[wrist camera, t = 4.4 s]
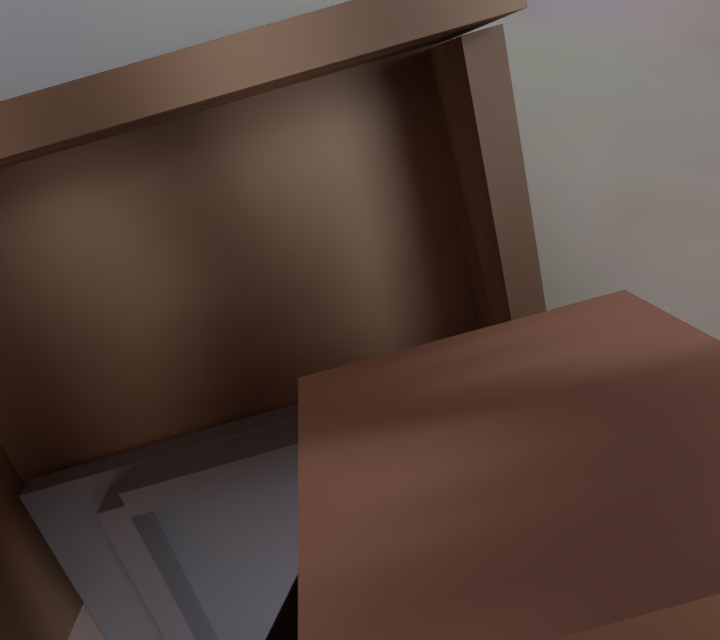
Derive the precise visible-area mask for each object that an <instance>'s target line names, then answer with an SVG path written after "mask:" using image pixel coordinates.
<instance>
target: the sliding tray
mask: <svg viewBox="0 0 720 640" xmlns="http://www.w3.org/2000/svg"><path fill="white" fill-rule="evenodd" d="M19 497H20V499H21V501H22V502H23V504H24V506H25V507H26V509H27V511H28V512H29V514H30V515H31V517H32V519H33V520H34V522H35V524H36V525H37V527H38V529H39V530H40V532H41V534H42V535H43V537H44V538H45V540H46V542H47V543H48V545H49V547H50V548H51V550H52V552H53V553H54V555H55V556H56V558H57V560H58V561H59V563H60V565H61V566H62V568H63V570H64V571H65V573H66V574H67V576H68V578H69V579H70V581H71V583H72V584H73V586H74V588H75V589H76V591H77V593H78V594H79V596H80V597H81V599H82V601H83V602H84V604H85V606H86V607H87V609H88V611H89V612H90V614H91V615H92V617H93V619H94V620H95V622H96V624H97V625H98V627H99V629H100V630H101V632H102V634H103V635H104V637H105V638H106V640H265V639H266V637H267V635H268V633H269V631H270V629H271V627H272V625H273V623H274V621H275V619H276V617H277V615H278V613H279V611H280V609H281V607H282V604H283V602H284V600H285V598H286V596H287V594H288V592H289V590H290V588H291V586H292V584H293V582H294V580H295V578H296V576H297V574H298V403H297V404H293V405H290V406H286V407H283V408H279V409H275V410H272V411H268V412H265V413H261V414H258V415H254V416H251V417H247V418H244V419H240V420H237V421H233V422H230V423H226V424H223V425H219V426H215V427H212V428H208V429H205V430H201V431H198V432H194V433H191V434H187V435H184V436H180V437H177V438H173V439H170V440H166V441H163V442H159V443H155V444H152V445H148V446H145V447H141V448H138V449H134V450H131V451H127V452H124V453H120V454H117V455H113V456H110V457H106V458H103V459H99V460H96V461H92V462H88V463H85V464H81V465H78V466H74V467H71V468H67V469H64V470H60V471H57V472H53V473H50V474H46V475H43V476H39V477H36V478H32V479H31V480H30V481H29V482H28V484H27V485H26V486H25V488H24V489H23V491H22V492H21V493H20V495H19Z"/></svg>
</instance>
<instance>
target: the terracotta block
mask: <svg viewBox="0 0 720 640" xmlns="http://www.w3.org/2000/svg"><path fill="white" fill-rule="evenodd" d="M298 640H720V341H719V340H717V339H715V338H713V337H711V336H709V335H708V334H706V333H704V332H702V331H700V330H698V329H696V328H695V327H693V326H691V325H689V324H687V323H685V322H683V321H682V320H680V319H678V318H676V317H674V316H672V315H670V314H669V313H667V312H665V311H663V310H661V309H659V308H658V307H656V306H654V305H652V304H650V303H648V302H646V301H645V300H643V299H641V298H639V297H637V296H635V295H633V294H632V293H630V292H628V291H626V290H623V291H619V292H616V293H612V294H608V295H604V296H601V297H597V298H593V299H590V300H586V301H582V302H578V303H575V304H571V305H567V306H564V307H560V308H556V309H552V310H549V311H545V312H541V313H537V314H534V315H530V316H526V317H523V318H519V319H515V320H511V321H508V322H504V323H500V324H497V325H493V326H489V327H485V328H482V329H478V330H474V331H471V332H467V333H463V334H459V335H456V336H452V337H448V338H445V339H441V340H437V341H433V342H430V343H426V344H422V345H418V346H415V347H411V348H407V349H404V350H400V351H396V352H392V353H389V354H385V355H381V356H378V357H374V358H370V359H366V360H363V361H359V362H355V363H352V364H348V365H344V366H340V367H337V368H333V369H329V370H326V371H322V372H318V373H314V374H311V375H307V376H303V377H299V378H298Z"/></svg>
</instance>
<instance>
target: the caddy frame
mask: <svg viewBox="0 0 720 640" xmlns="http://www.w3.org/2000/svg"><path fill="white" fill-rule="evenodd" d="M524 8H527V0H351V1H348V2H344V3H341V4H337V5H334V6H331V7H327V8H324V9H320V10H317V11H313V12H310V13H306V14H303V15H299V16H296V17H292V18H289V19H285V20H282V21H278V22H275V23H272V24H268V25H265V26H261V27H258V28H254V29H251V30H247V31H244V32H240V33H237V34H233V35H230V36H226V37H223V38H219V39H216V40H212V41H209V42H206V43H202V44H199V45H195V46H192V47H188V48H185V49H181V50H178V51H174V52H171V53H167V54H164V55H160V56H157V57H153V58H150V59H147V60H143V61H140V62H136V63H133V64H129V65H126V66H122V67H119V68H115V69H112V70H108V71H105V72H101V73H98V74H94V75H91V76H87V77H84V78H81V79H77V80H74V81H70V82H67V83H63V84H60V85H56V86H53V87H49V88H46V89H42V90H39V91H35V92H32V93H28V94H25V95H22V96H18V97H15V98H11V99H8V100H4V101H1V102H0V640H67V639H68V637H69V634H70V632H71V630H72V627H73V625H74V623H75V621H76V618H77V616H78V614H79V611H80V609H81V607H82V605H83V601H82V599H81V597H80V596H79V594H78V593H77V591H76V589H75V588H74V586H73V584H72V583H71V581H70V579H69V578H68V576H67V574H66V573H65V571H64V570H63V568H62V566H61V565H60V563H59V561H58V560H57V558H56V556H55V555H54V553H53V552H52V550H51V548H50V547H49V545H48V543H47V542H46V540H45V538H44V537H43V535H42V534H41V532H40V530H39V529H38V527H37V525H36V524H35V522H34V520H33V519H32V517H31V515H30V514H29V512H28V511H27V509H26V507H25V506H24V504H23V502H22V501H21V499H20V497H19V495H20V493H21V492H22V491H23V489H24V488H25V486H26V485H27V484H28V482H29V481H30V480H31V479H32V478H36V477H39V476H43V475H46V474H50V473H53V472H57V471H60V470H64V469H67V468H71V467H74V466H78V465H81V464H85V463H88V462H92V461H96V460H99V459H103V458H106V457H110V456H113V455H117V454H120V453H124V452H127V451H131V450H134V449H138V448H141V447H145V446H148V445H152V444H155V443H159V442H163V441H166V440H170V439H173V438H177V437H180V436H184V435H187V434H191V433H194V432H198V431H201V430H205V429H208V428H212V427H215V426H219V425H223V424H226V423H230V422H233V421H237V420H240V419H244V418H247V417H251V416H254V415H258V414H261V413H265V412H268V411H272V410H275V409H279V408H283V407H286V406H290V405H293V404H297V403H298V378H299V377H303V376H307V375H311V374H314V373H318V372H322V371H326V370H329V369H333V368H337V367H340V366H344V365H348V364H352V363H355V362H359V361H363V360H366V359H370V358H374V357H378V356H381V355H385V354H389V353H392V352H396V351H400V350H404V349H407V348H411V347H415V346H418V345H422V344H426V343H430V342H433V341H437V340H441V339H445V338H448V337H452V336H456V335H459V334H463V333H467V332H471V331H474V330H478V329H482V328H485V327H489V326H493V325H497V324H500V323H504V322H508V321H511V320H515V319H519V318H523V317H526V316H530V315H534V314H537V313H541V312H545V311H546V306H545V300H544V293H543V287H542V280H541V274H540V267H539V260H538V254H537V247H536V241H535V234H534V228H533V221H532V214H531V208H530V201H529V195H528V188H527V181H526V175H525V168H524V162H523V155H522V149H521V142H520V135H519V129H518V122H517V116H516V109H515V102H514V96H513V89H512V83H511V76H510V70H509V63H508V56H507V50H506V43H505V37H504V30H503V24H500V25H497V26H493V27H490V28H486V29H483V30H479V31H476V32H473V33H469V34H466V35H462V34H465V33H467V32H470V31H472V30H474V29H477V28H479V27H481V26H484V25H486V24H489V23H491V22H493V21H496V20H498V19H501V18H503V17H505V16H508V15H510V14H512V13H515V12H517V11H520V10H522V9H524ZM460 35H462V36H460ZM458 36H459V37H458ZM455 37H457V38H455ZM453 38H455V39H453Z"/></svg>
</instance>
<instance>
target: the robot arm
mask: <svg viewBox="0 0 720 640" xmlns="http://www.w3.org/2000/svg"><path fill="white" fill-rule="evenodd" d="M265 640H298V574H297V576H296V578H295V580H294V582H293V584H292V586H291V588H290V590H289V592H288V594H287V596H286V598H285V600H284V602H283V604H282V607H281V609H280V611H279V613H278V615H277V617H276V619H275V621H274V623H273V625H272V627H271V629H270V631H269V633H268V635H267V637H266V639H265Z"/></svg>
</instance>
